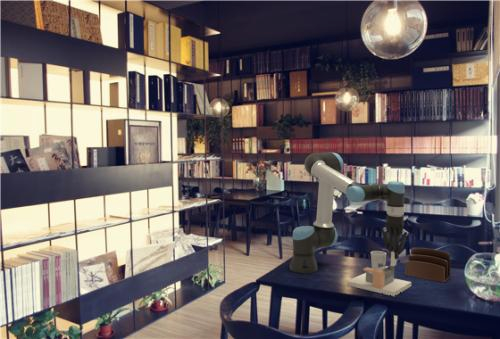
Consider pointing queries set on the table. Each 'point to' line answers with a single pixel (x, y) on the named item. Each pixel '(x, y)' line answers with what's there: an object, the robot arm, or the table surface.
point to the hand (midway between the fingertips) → (393, 265)
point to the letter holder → (428, 264)
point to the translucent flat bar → (381, 268)
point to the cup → (378, 258)
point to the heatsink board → (384, 290)
